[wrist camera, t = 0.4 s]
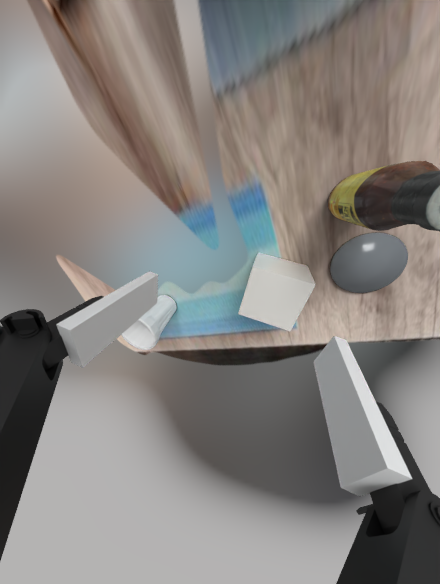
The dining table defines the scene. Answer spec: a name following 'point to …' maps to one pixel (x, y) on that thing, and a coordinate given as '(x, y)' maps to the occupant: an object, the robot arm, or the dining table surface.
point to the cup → (151, 324)
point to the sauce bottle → (390, 197)
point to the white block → (276, 291)
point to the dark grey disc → (368, 262)
